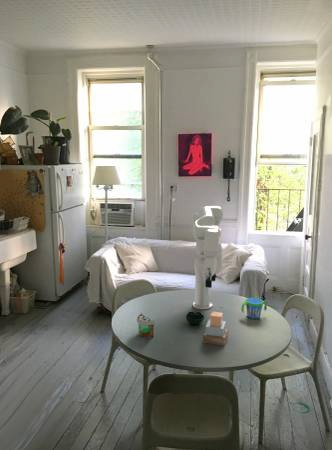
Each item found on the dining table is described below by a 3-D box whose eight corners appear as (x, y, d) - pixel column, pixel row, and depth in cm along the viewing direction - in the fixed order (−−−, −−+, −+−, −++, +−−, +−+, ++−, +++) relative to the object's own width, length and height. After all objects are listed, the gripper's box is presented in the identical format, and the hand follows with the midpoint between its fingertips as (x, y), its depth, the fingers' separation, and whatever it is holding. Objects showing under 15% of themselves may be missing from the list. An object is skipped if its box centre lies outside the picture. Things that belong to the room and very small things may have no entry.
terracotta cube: (212, 321, 206) (212, 311, 205) (222, 322, 204) (222, 312, 203) (210, 325, 200) (210, 315, 199) (220, 327, 199) (221, 316, 198)
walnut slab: (207, 333, 211) (207, 326, 210) (227, 336, 208) (228, 328, 207) (203, 343, 201) (203, 335, 200) (224, 346, 197) (224, 338, 196)
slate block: (209, 327, 209) (209, 319, 208) (225, 329, 206) (225, 321, 205) (205, 334, 200) (205, 326, 199) (222, 337, 198) (223, 328, 197)
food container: (132, 332, 211) (132, 315, 209) (142, 329, 215) (141, 312, 213) (145, 341, 202) (144, 323, 200) (154, 338, 205) (154, 320, 203)
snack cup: (262, 312, 238) (263, 296, 236) (269, 319, 228) (270, 303, 226) (238, 313, 236) (238, 298, 234) (244, 321, 226) (244, 304, 224)
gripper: (207, 247, 210) (207, 277, 214) (200, 257, 194) (199, 289, 198) (221, 249, 208) (220, 279, 211) (215, 258, 192) (214, 290, 196)
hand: (210, 284), depth 205 cm, fingers open, 9 cm apart
